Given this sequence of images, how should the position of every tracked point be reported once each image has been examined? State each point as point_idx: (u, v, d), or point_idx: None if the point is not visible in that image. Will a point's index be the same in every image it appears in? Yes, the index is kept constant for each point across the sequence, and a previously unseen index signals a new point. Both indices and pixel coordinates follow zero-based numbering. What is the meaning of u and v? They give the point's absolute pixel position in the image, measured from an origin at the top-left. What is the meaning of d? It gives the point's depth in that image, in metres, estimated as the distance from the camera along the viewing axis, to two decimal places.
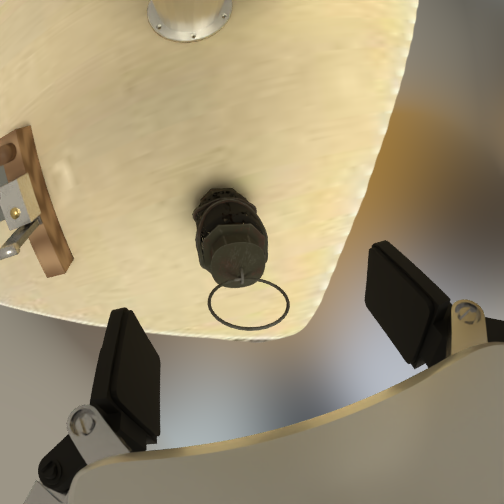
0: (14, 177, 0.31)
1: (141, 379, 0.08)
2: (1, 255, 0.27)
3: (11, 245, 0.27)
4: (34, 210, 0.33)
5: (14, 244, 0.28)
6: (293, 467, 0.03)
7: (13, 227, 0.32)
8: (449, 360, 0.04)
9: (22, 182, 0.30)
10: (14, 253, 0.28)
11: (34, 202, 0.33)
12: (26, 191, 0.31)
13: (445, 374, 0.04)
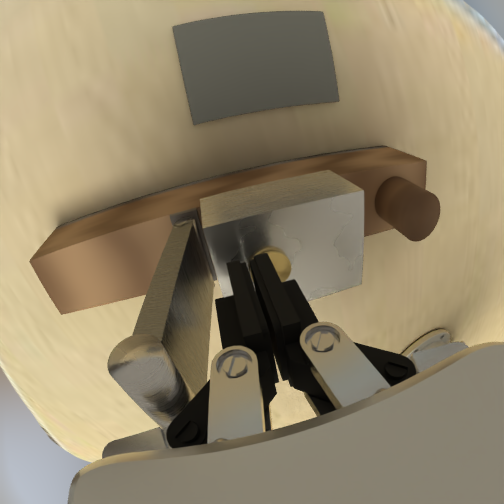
0: None
1: None
2: (159, 414, 0.06)
3: None
4: None
5: None
6: (293, 467, 0.03)
7: (216, 250, 0.12)
8: (449, 360, 0.04)
9: None
10: None
11: None
12: None
13: (445, 374, 0.04)
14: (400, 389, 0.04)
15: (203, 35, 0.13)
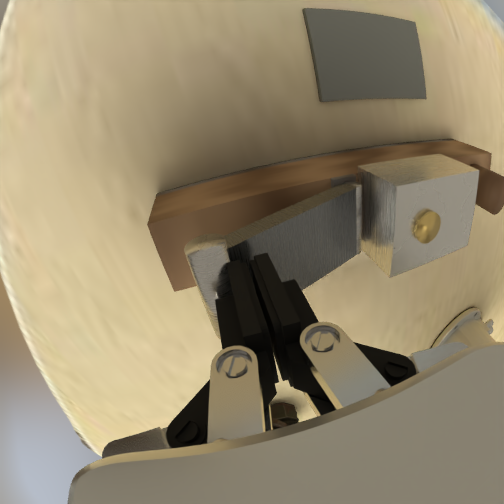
0: None
1: None
2: (199, 289, 0.11)
3: None
4: None
5: None
6: (293, 467, 0.03)
7: (400, 207, 0.12)
8: (449, 360, 0.04)
9: None
10: None
11: None
12: None
13: (445, 374, 0.04)
14: (400, 389, 0.04)
15: (331, 23, 0.14)
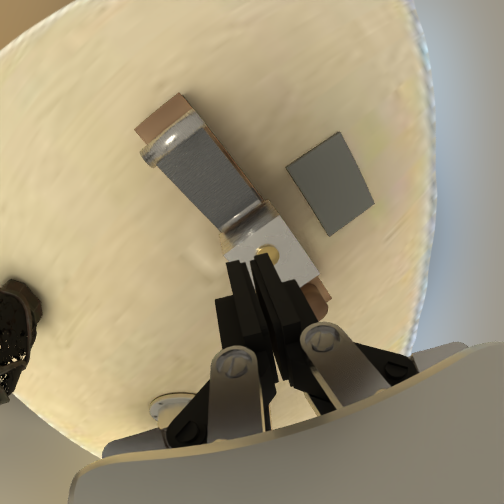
0: None
1: None
2: (172, 124, 0.17)
3: (149, 155, 0.17)
4: None
5: None
6: (293, 467, 0.03)
7: (269, 226, 0.21)
8: (449, 360, 0.04)
9: None
10: None
11: None
12: None
13: (445, 374, 0.04)
14: (400, 389, 0.04)
15: (339, 151, 0.28)
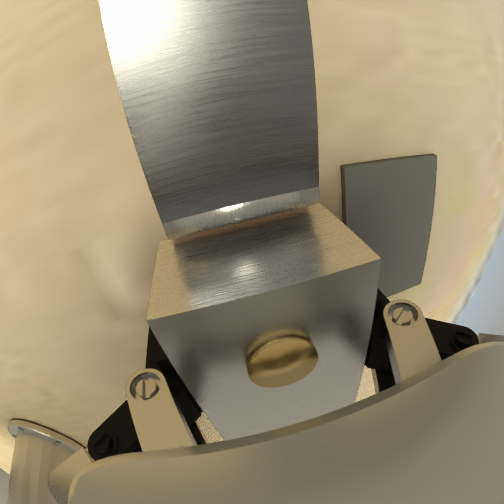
0: None
1: None
2: None
3: None
4: None
5: None
6: (293, 468, 0.03)
7: (338, 281, 0.06)
8: (449, 360, 0.04)
9: None
10: None
11: None
12: None
13: (445, 374, 0.04)
14: (400, 389, 0.04)
15: (423, 183, 0.15)
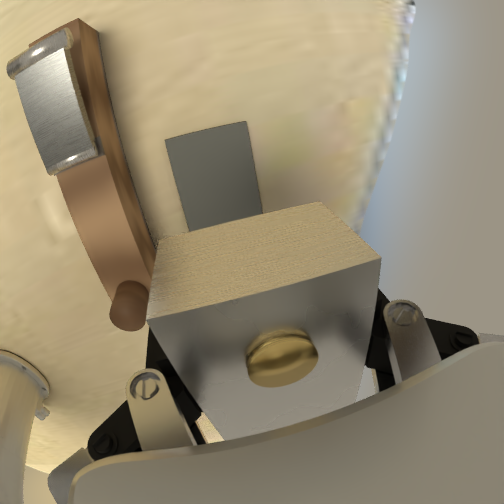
0: (118, 251, 0.21)
1: None
2: (43, 39, 0.10)
3: (11, 65, 0.09)
4: None
5: (8, 71, 0.09)
6: (293, 467, 0.03)
7: (339, 281, 0.06)
8: (449, 360, 0.04)
9: None
10: None
11: None
12: None
13: (445, 374, 0.04)
14: (400, 389, 0.04)
15: (236, 143, 0.23)
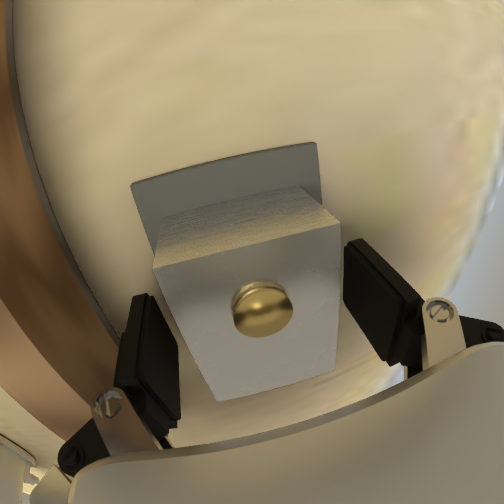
0: (70, 416, 0.08)
1: (163, 363, 0.09)
2: None
3: None
4: None
5: None
6: (293, 467, 0.03)
7: (305, 240, 0.08)
8: (449, 360, 0.04)
9: None
10: None
11: None
12: None
13: (445, 374, 0.04)
14: (400, 389, 0.04)
15: None
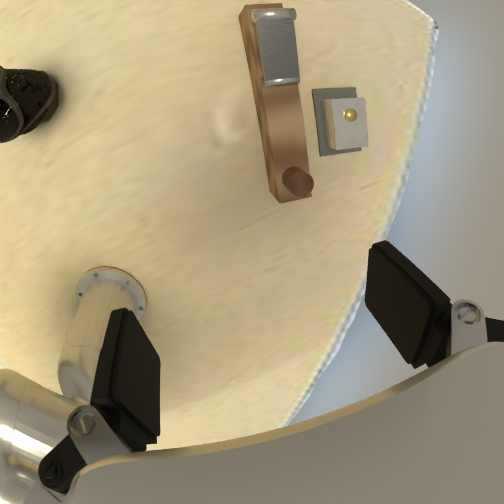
0: (293, 145, 0.33)
1: (141, 379, 0.08)
2: (278, 8, 0.21)
3: (258, 13, 0.21)
4: (325, 106, 0.34)
5: (254, 15, 0.21)
6: (293, 467, 0.03)
7: (358, 100, 0.32)
8: (449, 360, 0.04)
9: (331, 142, 0.36)
10: None
11: (323, 114, 0.35)
12: (329, 130, 0.35)
13: (445, 374, 0.04)
14: (400, 389, 0.04)
15: None
